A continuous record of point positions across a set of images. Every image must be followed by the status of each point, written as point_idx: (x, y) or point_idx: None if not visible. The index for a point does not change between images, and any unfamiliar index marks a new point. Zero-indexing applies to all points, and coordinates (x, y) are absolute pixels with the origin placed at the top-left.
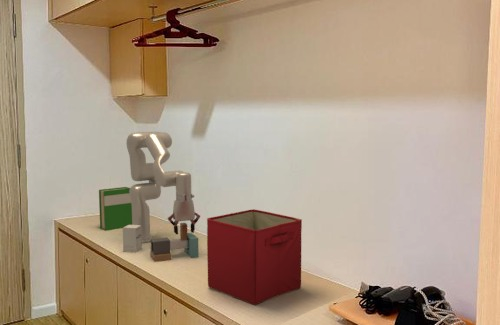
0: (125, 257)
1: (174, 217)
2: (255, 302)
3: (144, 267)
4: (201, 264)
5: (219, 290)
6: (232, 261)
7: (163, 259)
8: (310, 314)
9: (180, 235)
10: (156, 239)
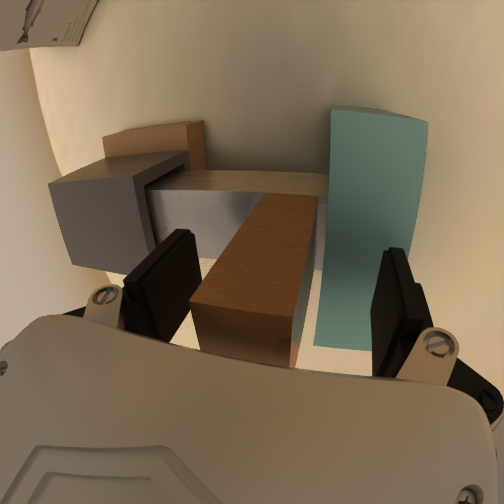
0: (48, 121)
1: (30, 331)
2: None
3: (113, 277)
4: (327, 353)
5: None
6: None
7: None
8: None
9: (255, 210)
10: (74, 213)
